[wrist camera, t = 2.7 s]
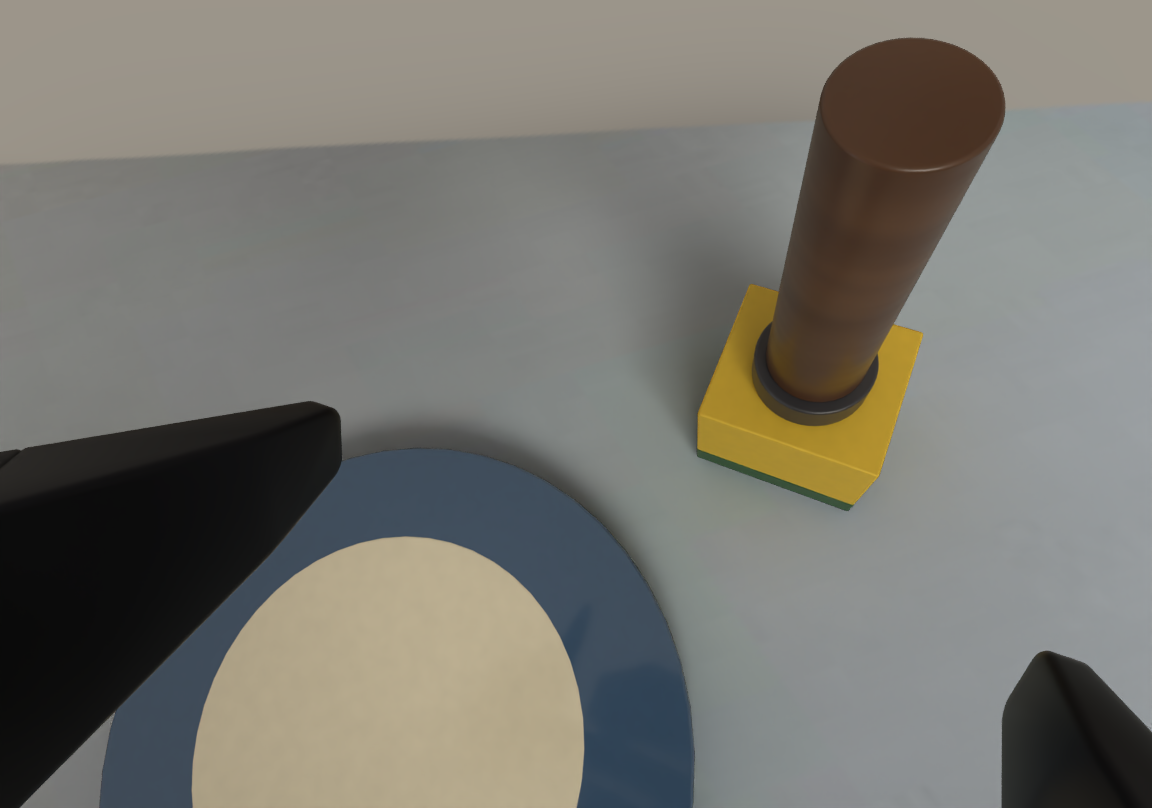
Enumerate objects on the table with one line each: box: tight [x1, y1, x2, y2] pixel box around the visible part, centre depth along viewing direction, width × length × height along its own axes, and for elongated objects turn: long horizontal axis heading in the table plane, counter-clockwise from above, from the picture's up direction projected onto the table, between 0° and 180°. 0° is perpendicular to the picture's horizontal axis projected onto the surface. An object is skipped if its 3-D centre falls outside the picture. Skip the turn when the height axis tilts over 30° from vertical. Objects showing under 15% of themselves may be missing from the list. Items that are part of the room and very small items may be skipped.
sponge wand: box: [697, 38, 1005, 511], centre depth 17 cm, size 4×5×14 cm
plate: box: [99, 448, 695, 808], centre depth 21 cm, size 18×18×1 cm
